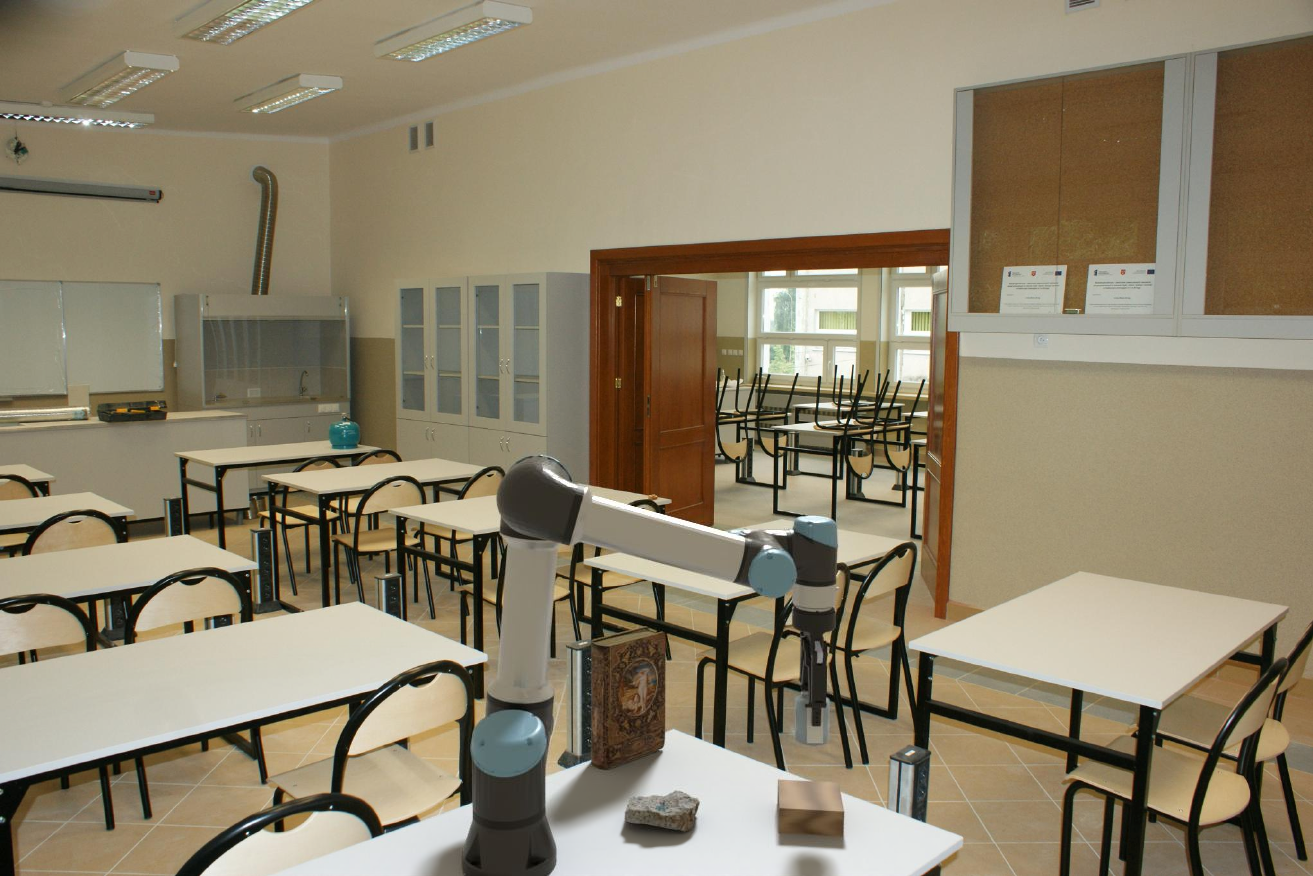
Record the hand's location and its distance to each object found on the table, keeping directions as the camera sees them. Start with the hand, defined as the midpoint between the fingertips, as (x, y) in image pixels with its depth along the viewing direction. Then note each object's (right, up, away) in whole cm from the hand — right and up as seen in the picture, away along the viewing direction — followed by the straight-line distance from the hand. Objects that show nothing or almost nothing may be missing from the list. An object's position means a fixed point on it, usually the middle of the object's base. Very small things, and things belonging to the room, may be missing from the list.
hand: (811, 734), depth 170 cm
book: (-33, -13, +28) cm, 46 cm away
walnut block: (0, -16, +2) cm, 16 cm away
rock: (-26, -17, -3) cm, 31 cm away
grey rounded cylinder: (0, -1, 0) cm, 1 cm away
